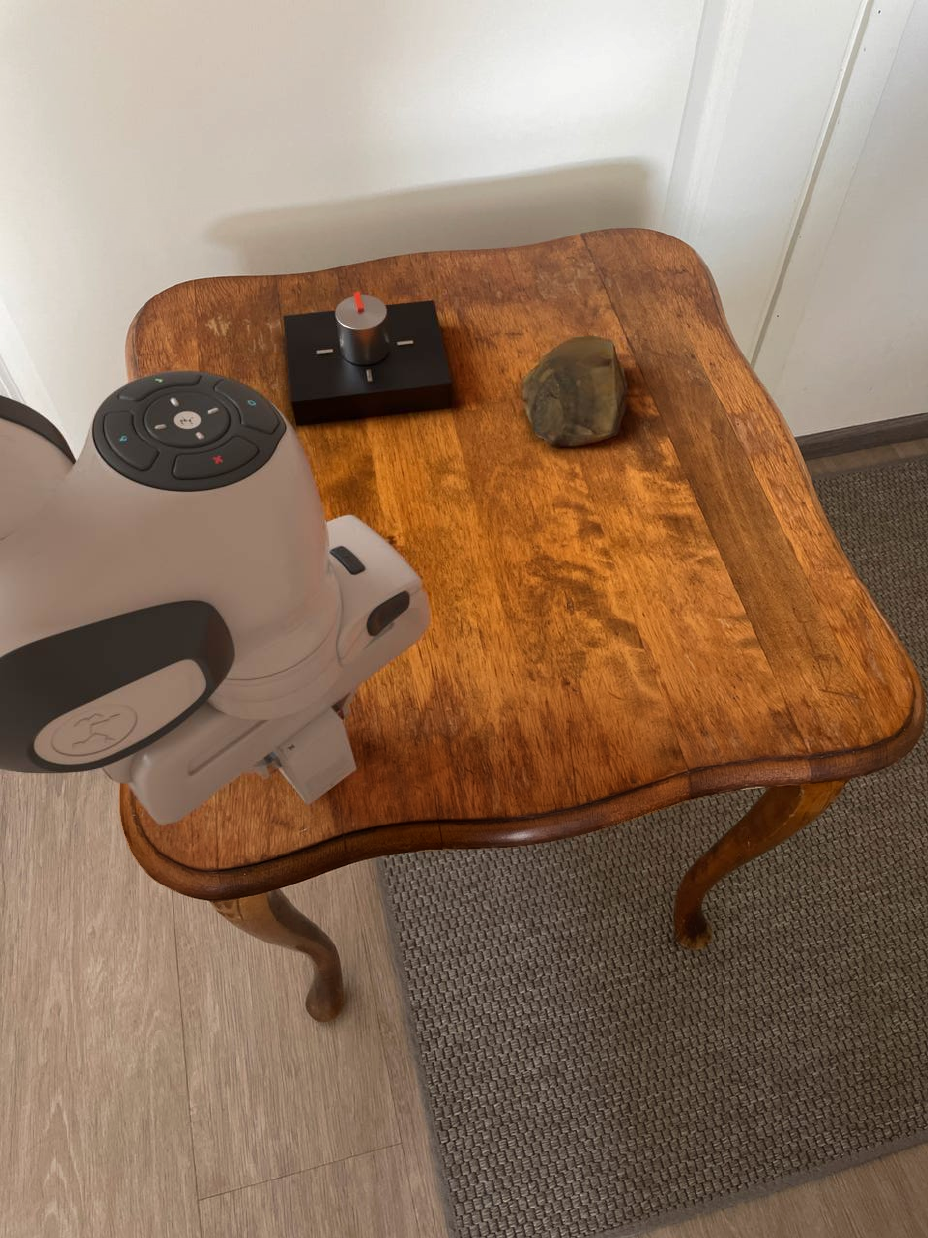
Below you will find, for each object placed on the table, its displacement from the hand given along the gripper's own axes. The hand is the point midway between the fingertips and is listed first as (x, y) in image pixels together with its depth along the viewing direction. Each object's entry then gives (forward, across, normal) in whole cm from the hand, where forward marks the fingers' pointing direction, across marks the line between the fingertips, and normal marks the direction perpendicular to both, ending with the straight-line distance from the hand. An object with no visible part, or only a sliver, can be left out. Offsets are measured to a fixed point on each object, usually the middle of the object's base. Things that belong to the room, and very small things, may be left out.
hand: (301, 739), depth 60 cm
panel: (+4, +27, +27) cm, 39 cm away
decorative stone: (+4, +38, +12) cm, 40 cm away
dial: (+1, +27, +27) cm, 38 cm away
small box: (+3, 0, 0) cm, 3 cm away
